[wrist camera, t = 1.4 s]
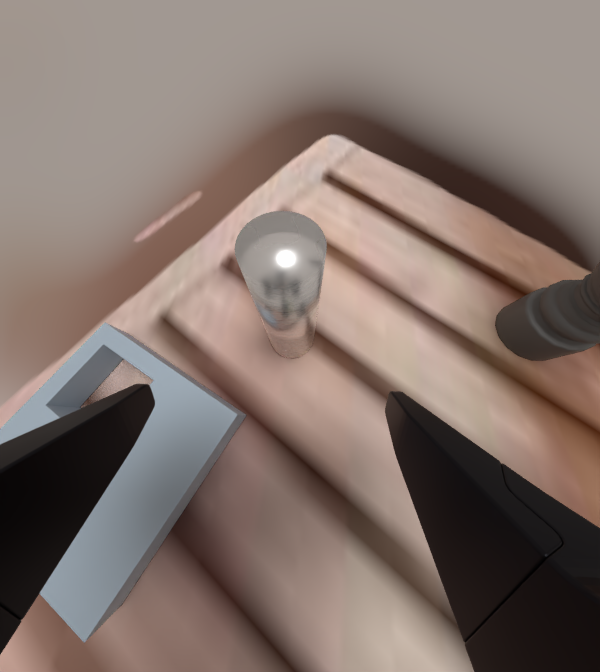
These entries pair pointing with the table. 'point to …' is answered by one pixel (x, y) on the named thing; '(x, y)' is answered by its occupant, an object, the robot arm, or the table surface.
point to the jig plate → (128, 473)
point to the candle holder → (553, 319)
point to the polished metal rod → (284, 276)
